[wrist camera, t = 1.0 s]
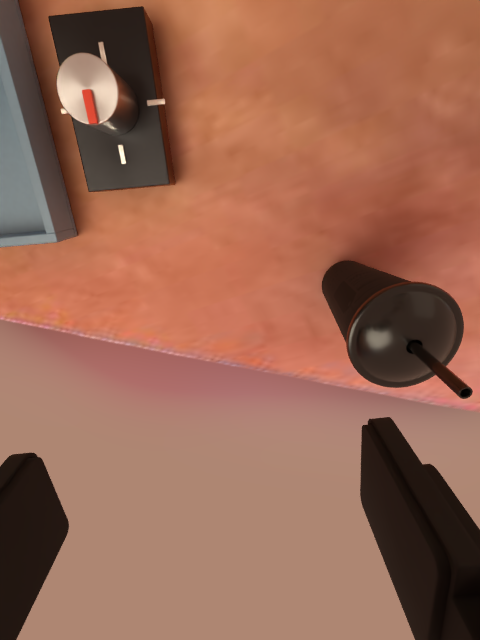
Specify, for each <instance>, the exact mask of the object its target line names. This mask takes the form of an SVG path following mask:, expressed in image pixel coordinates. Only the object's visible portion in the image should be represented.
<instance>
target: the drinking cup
mask: <svg viewBox="0 0 480 640" xmlns="http://www.w3.org/2000/svg"><path fill="white" fill-rule="evenodd" d="M322 291H323V294H324V296H325V298H326V300H327V303H328V305H329V307H330V309H331V311H332V313H333V316H334V318H335V320H336V322H337V324H338V326H339V328H340V331H341V333H342V335H343V337H344V339H345V341H346V345H347V352H348V356H349V359H350V361H351V363H352V364H353V366H354V368H355V369H356V370H357V372H358V373H359V374H360V375H361V376H363V377H364V378H365V379H367V380H368V381H370V382H372V383H375V384H377V385H380V386H385V387H393V388H399V387H408V386H412V385H416V384H419V383H421V382H424V381H426V380H428V379H430V378H431V377H433V376H434V375H437V376H438V377H439V378H440V379H441V380H442V381H443V382H444V383H445V384H446V385H447V386H448V387H449V388H450V389H452V390H453V391H454V392H455V393H456V394H457V395H458V396H459V397H460V398H462V399H466V398H468V397H470V396H471V395H472V392H473V391H472V389H471V388H470V387H469V386H468V385H467V384H465V383H464V382H463V381H462V380H461V379H460V378H459V377H457V376H456V375H455V374H454V373H453V372H452V371H450V370H449V369H448V368H447V367H446V366H447V364H448V363H449V362H450V361H451V360H452V358H453V357H454V355H455V354H456V352H457V350H458V348H459V346H460V344H461V341H462V337H463V330H464V322H463V316H462V313H461V310H460V308H459V306H458V304H457V302H456V301H455V300H454V299H453V298H452V297H451V295H449V294H448V293H447V292H446V291H444V290H442V289H441V288H439V287H436V286H434V285H431V284H428V283H423V282H411V281H408V280H405V279H402V278H399V277H396V276H394V275H391V274H388V273H385V272H382V271H379V270H376V269H374V268H371V267H368V266H365V265H362V264H359V263H356V262H353V261H342V262H339V263H337V264H335V265H333V266H332V267H331V268H330V269H329V270H328V271H327V272H326V274H325V275H324V278H323V281H322Z"/></svg>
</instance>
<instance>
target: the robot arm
mask: <svg viewBox="0 0 480 640" xmlns="http://www.w3.org/2000/svg"><path fill="white" fill-rule="evenodd" d="M360 491H361V493H360V495H361V501H362V505H363V508H364V511H365V514H366V516H367V519H368V521H369V524H370V526H371V529H372V531H373V534H374V537H375V539H376V542H377V544H378V547H379V549H380V552H381V554H382V556H383V559H384V562H385V564H386V567H387V569H388V572H389V574H390V577H391V580H392V582H393V585H394V587H395V590H396V592H397V595H398V597H399V600H400V602H401V605H402V608H403V610H404V612H405V615H406V618H407V620H408V623H409V625H410V628H411V630H412V633H413V635H414V638H415V640H480V529H479V528H478V527H477V525H476V524H475V523H474V521H473V520H472V518H471V517H470V515H469V514H468V513H467V511H466V510H465V508H464V507H463V506H462V504H461V503H460V501H459V500H458V499H457V497H456V496H455V494H454V493H453V491H452V490H451V489H450V487H449V486H448V484H447V483H446V481H445V480H444V479H443V477H442V476H441V474H440V473H439V472H438V470H437V469H436V468H435V467H434V466H432V465H431V464H424V465H422V463H421V462H420V460H419V459H418V457H417V456H416V454H415V453H414V452H413V450H412V448H411V447H410V445H409V444H408V442H407V441H406V439H405V438H404V436H403V435H402V433H401V432H400V431H399V429H398V428H397V426H396V424H395V423H394V421H393V420H392V419H391V418H390V417H386V418H376V419H369V421H368V425H363V426H362V445H361V489H360ZM68 528H69V524H68V519H67V517H66V515H65V512H64V510H63V507H62V505H61V503H60V500H59V498H58V496H57V493H56V491H55V489H54V487H53V484H52V481H51V479H50V477H49V474H48V472H47V470H46V467H45V465H44V462H43V460H42V459H41V458H40V457H37V455H36V454H35V453H23V454H14V455H11V456H9V457H8V458H7V459H6V460H5V461H4V463H3V464H2V465H1V466H0V640H16V639H17V637H18V635H19V633H20V631H21V629H22V626H23V625H24V622H25V620H26V618H27V616H28V614H29V612H30V610H31V608H32V606H33V604H34V602H35V600H36V598H37V595H38V594H39V591H40V589H41V587H42V585H43V583H44V581H45V579H46V577H47V575H48V573H49V571H50V569H51V567H52V565H53V563H54V561H55V558H56V556H57V554H58V552H59V550H60V548H61V546H62V544H63V542H64V540H65V538H66V536H67V533H68Z"/></svg>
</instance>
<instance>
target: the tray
mask: <svg viewBox="0 0 480 640" xmlns="http://www.w3.org/2000/svg"><path fill="white" fill-rule="evenodd" d="M76 236H78V234H77V231H76V227H75V223H74V219H73V215H72V211H71V207H70V203H69V199H68V195H67V191H66V187H65V183H64V180H63V176H62V172H61V168H60V164H59V160H58V156H57V152H56V148H55V144H54V140H53V136H52V132H51V129H50V125H49V121H48V117H47V113H46V109H45V105H44V101H43V97H42V93H41V89H40V85H39V82H38V78H37V74H36V70H35V66H34V62H33V58H32V54H31V50H30V46H29V42H28V38H27V34H26V31H25V27H24V23H23V19H22V15H21V11H20V7H19V3H18V0H0V247H10V246H21V245H32V244H44V243H55V242H60V241H63V240H66V239H69V238H73V237H76Z"/></svg>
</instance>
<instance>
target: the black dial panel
mask: <svg viewBox="0 0 480 640" xmlns="http://www.w3.org/2000/svg"><path fill="white" fill-rule="evenodd" d="M48 18H49V22H50V27H51V31H52V35H53V40H54V44H55V48H56V52H57V57H58V61H59V65H60V66H61V64H62V63H63V62H64V61H65V60H66V59H67V58H68V57H69V56H71V55H73V54H76V53H89V54H93V55H95V56H97V57H99V58H100V59H102V60H103V61H104V62H105V63H106V64H107V65H108V66H109V67H110V68H112V69H113V70H114V71H115V72H116V73H117V74H118V75H119V76H120V77H121V78H122V79H123V80H124V81H125V82H126V83H127V84H128V85H129V86H130V87H131V88H132V90H133V91H134V93H135V95H136V98H137V101H138V106H139V113H138V118H137V121H136V123H135V125H134V126H133V128H132V129H131V130H130V131H128V132H127V133H125V134H122V135H111V134H108V133H105V132H103V131H100V130H98V129H95V128H93V127H91V126H88V125H86V124H83V123H81V122H79V121H77V120H76V119H74V118H73V117H72V116H71V117H72V121H73V126H74V130H75V134H76V138H77V143H78V147H79V151H80V156H81V160H82V164H83V169H84V173H85V177H86V181H87V186H88V190H89V192H101V191H112V190H123V189H134V188H145V187H156V186H166V185H175V177H174V170H173V163H172V156H171V150H170V143H169V136H168V129H167V122H166V115H165V108H164V104H165V99H163V94H162V87H161V80H160V73H159V66H158V59H157V52H156V45H155V38H154V31H153V25H152V23H151V21H150V19H149V17H148V15H147V13H146V11H145V9H144V8H143V7H132V8H123V9H113V10H103V11H94V12H84V13H74V14H65V15H55V16H48ZM61 112H62V114H69V113H68V112H67V111H66V110H65V108H63V109H61Z"/></svg>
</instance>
